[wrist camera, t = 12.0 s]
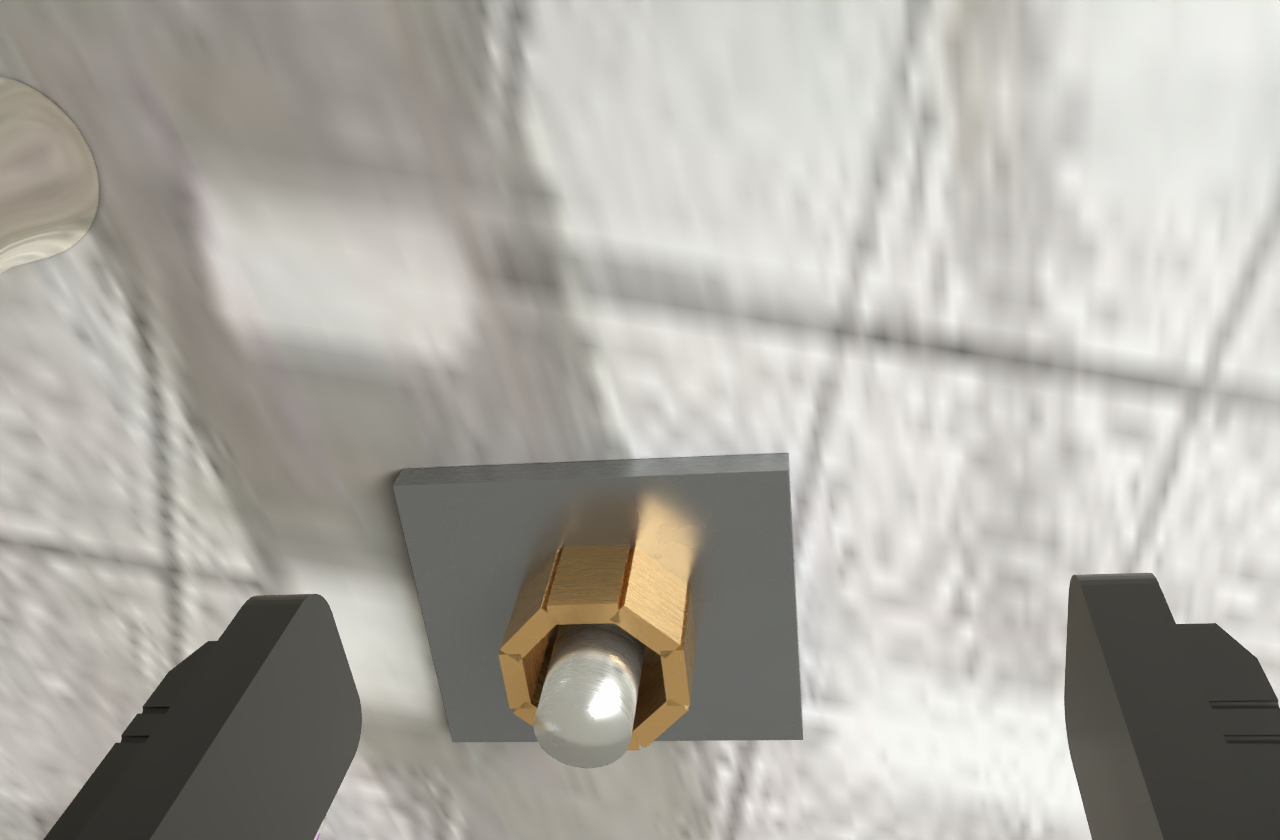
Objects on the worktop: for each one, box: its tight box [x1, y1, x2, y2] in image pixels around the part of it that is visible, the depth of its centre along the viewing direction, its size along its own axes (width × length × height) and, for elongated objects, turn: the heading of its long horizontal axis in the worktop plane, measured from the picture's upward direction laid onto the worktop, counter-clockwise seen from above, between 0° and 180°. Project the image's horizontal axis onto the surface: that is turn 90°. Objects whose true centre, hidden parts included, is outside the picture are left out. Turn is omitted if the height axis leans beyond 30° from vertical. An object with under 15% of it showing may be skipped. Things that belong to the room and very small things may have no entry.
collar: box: [498, 544, 696, 750], centre depth 41 cm, size 6×6×4 cm
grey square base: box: [393, 453, 803, 768], centre depth 40 cm, size 14×12×7 cm
